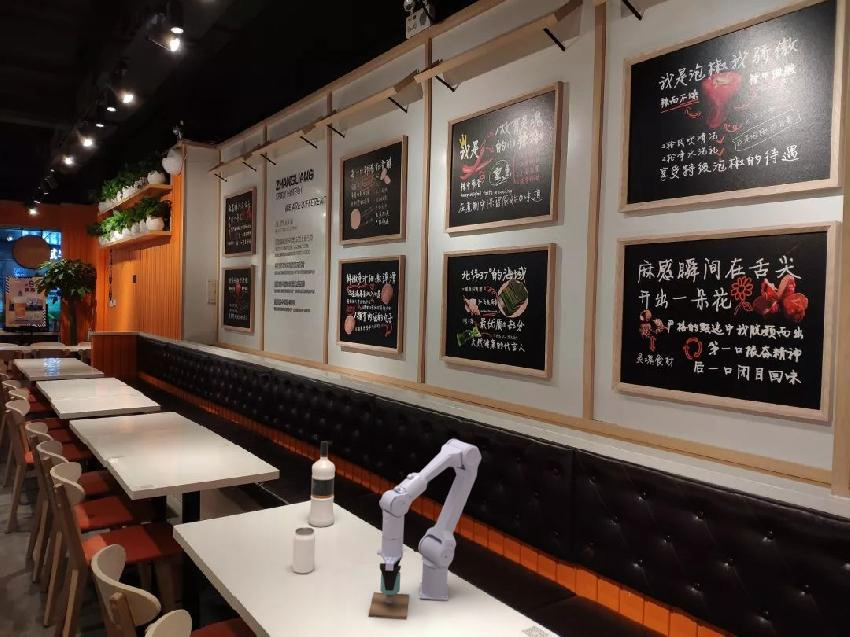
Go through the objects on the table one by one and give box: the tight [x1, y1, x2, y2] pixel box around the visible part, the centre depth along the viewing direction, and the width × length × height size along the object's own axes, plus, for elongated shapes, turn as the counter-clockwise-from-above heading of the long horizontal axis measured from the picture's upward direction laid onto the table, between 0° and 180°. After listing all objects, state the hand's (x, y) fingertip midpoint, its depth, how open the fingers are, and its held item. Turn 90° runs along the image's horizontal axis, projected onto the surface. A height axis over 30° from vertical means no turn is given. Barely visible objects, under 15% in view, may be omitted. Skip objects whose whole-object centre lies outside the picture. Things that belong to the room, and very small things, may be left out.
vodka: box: [307, 440, 336, 528], centre depth 228 cm, size 9×9×30 cm
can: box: [291, 526, 316, 575], centre depth 191 cm, size 6×6×12 cm
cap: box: [379, 571, 401, 595], centre depth 171 cm, size 5×5×4 cm
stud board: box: [367, 591, 410, 620], centre depth 171 cm, size 12×10×4 cm
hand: (390, 584), depth 171 cm, fingers closed on cap, 5 cm apart
